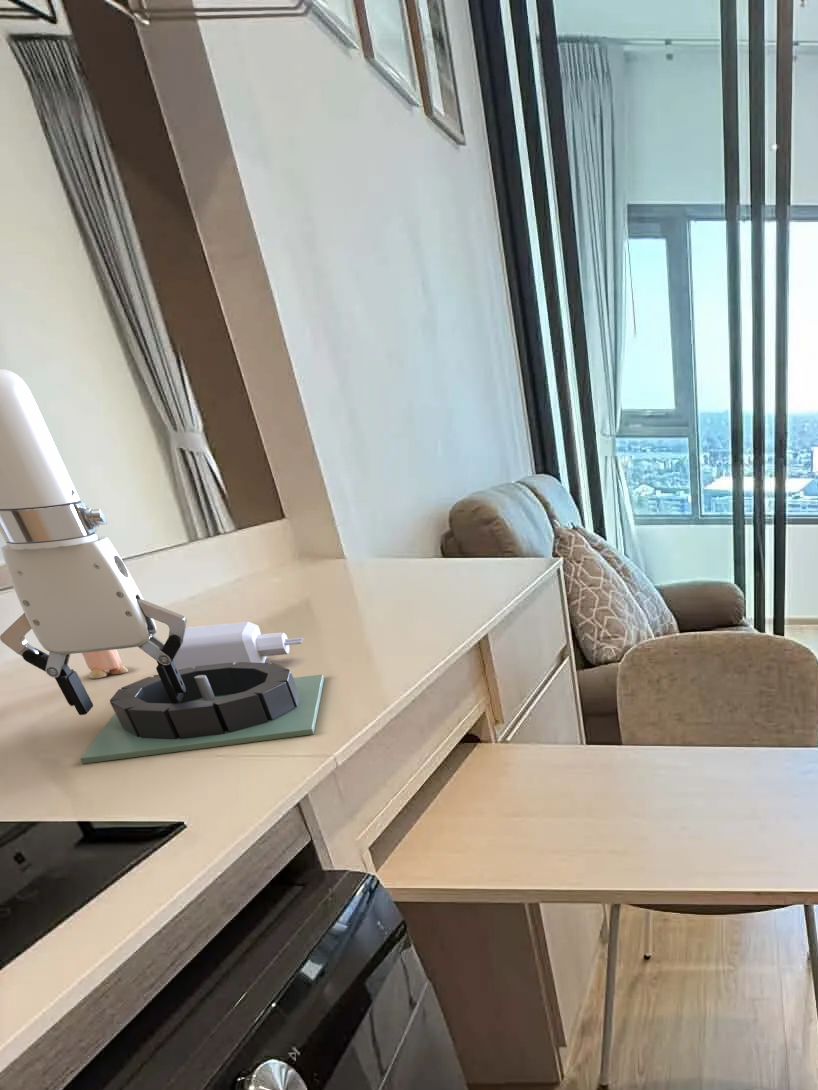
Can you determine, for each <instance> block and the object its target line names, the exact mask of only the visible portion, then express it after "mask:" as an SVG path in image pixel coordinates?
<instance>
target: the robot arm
mask: <svg viewBox="0 0 818 1090" xmlns="http://www.w3.org/2000/svg"><path fill="white" fill-rule="evenodd" d="M102 525H108V521H107V517H106V515H105V514H104V512H103V510H101V509H100V508H98V509H93V508H92V507H88V506H87V505H86V504H85V502H84V501H82V500H81V498H80V496H79V494H78V491H77V489H76V488H75V485H74V482H73V480H72V478H71V476H70V475H69V472H68V470H67V467H66V465H65V463H64V461H63V460H62V457H61V454H60V453H59V450H58V448H57V446H56V444H55V440H54V439H53V436H52V435H51V432H50V431H49V427H48V426H47V424H46V422H45V420H44V417H43V415H42V413H41V411H40V409H39V406H38V404H37V402H36V400H35V398H34V396H33V394H32V391H31V390H30V388H29V386H28V385H27V383H26V382H25V381H24V379H23V378H22V377H21V376H19V375H18V374H16V372H14V371H11V370H9V369H5V368H0V534H1V536H2V538H3V540H4V542H5V545H2V547H1V548H0V549H1V553H2V557H3V560H4V564H5V566H6V569H7V572H8V575H9V578H10V581H11V583H12V586H13V590H14V591H15V594H16V597H17V599H18V602H19V603H20V606H21V609H22V610H23V613H22V614H21V616H19V617H18V618H17V619H16V620H15V621H14V622H13V623H12V624H11V625H10V626H8V627H7V629H6V630H4V631H3V633H0V641H1V643H3V644H4V645H6V646H7V647H8V648H9V649H10V650H12V651H13V652H14V653H16V654H17V655H19V656H20V657H22V659H23V660H24V661H26V662H27V663H28V664H30V665H32V666H34V667H36V668H38V669H40V670H41V671H43V672H45V673H46V674H47V676H49V677H51V678H54V679H55V682H56V683H57V685H58V687H59V689H60V690H61V692H62V695H63V696H64V698H65V700H66V702H67V704H69V706H71V707H74V708H75V711H76V712H77V714H78V715H79V716H85V715H87V714H88V713H89V712H90V711H91V710H92V709H93V707H94V704H93V701H92V699H91V697H90V696H89V694H88V692H87V689H86V687H85V686H84V684H83V682H82V680H81V678H80V676H79V674H78V672H77V671H76V670H74V669H73V668H72V669H71V668H70V666H69V662H70V658H71V655H73V654H82V653H85V652H95V651H105V650H114V649H116V650H121V649H122V650H123V649H130V648H139V649H140V650H142V651H143V652H144V653H145V654H146V655H149V656H150V657H151V658H152V659H154V660H155V661H156V663H157V666H156V667H155V670H156V672H157V675H158V674H159V676H160V679H161V681H162V683H163V685H164V687H165V690H166V692H167V694H168V696H169V698H170V701H171V702H172V703H174V704H177V703H180V702H181V700H182V699H183V697H184V695H183V693H185V692H186V688H185V685H184V683H183V681H182V678H181V676H180V674H179V671H178V669H177V667H176V665H175V662H174V660H173V659H174V658H175V656H176V654H177V652H178V650H179V648H180V647H181V645H182V643H183V638H184V634H185V628H187V623H188V620H187V617H185V616H184V615H182V614H180V613H177V612H175V611H172V610H169V609H167V608H165V607H162V606H160V605H158V604H154V603H153V602H150V601H148V600H145V599H144V596H143V595H142V593H141V591H140V589H139V587H138V585H137V584H136V582H135V580H134V578H133V577H132V575H131V573H130V571H129V569H128V568H127V566H126V564H125V562H124V560H123V559H122V558H121V556H120V554H119V553H118V551H117V549H116V547H114V545H113V543H112V542H111V540H110V539H109V538H108V537H107V536H102V535H101V536H98V535H97V533H96V532H97V527H100V526H102ZM155 620H156V621H157V622H160V623H163V624H165V625H166V626H168V628H169V630H168V636H167V637H168V638H167V639H166V640H165V643H164V642H163V641H161V639H159V638H158V637H157V636H156V633H157V630H158V629H157V624H156V622H155ZM31 630H32V631H33V634H34V636H35V638H36V639H37V641H38V642H39V644H40V645H41V646H42V648H43V649H44V650H46V651H48V652H49V653H46V652H44V651H42V650H41V649H38V648H37V647H34V646H32V644H30V642H28V641H27V640H26V637H25V636H26V635H27V634H28V633H29V632H30V631H31Z"/></svg>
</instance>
